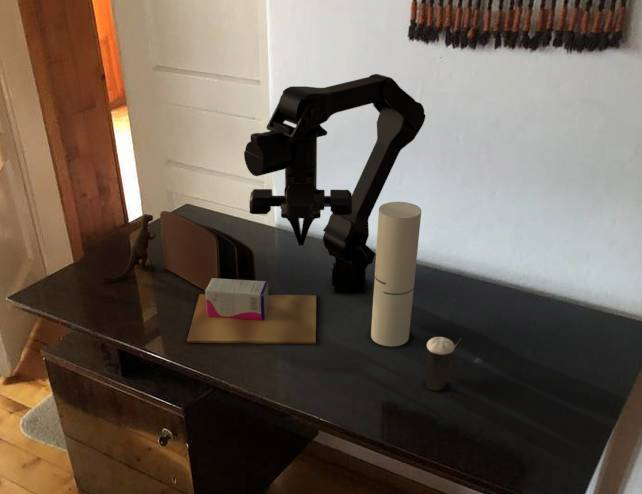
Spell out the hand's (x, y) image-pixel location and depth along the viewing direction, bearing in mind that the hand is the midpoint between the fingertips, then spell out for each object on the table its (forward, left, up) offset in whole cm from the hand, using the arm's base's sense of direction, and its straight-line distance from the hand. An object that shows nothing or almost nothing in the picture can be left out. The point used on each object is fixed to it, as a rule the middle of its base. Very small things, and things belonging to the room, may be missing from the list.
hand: (301, 244), depth 141 cm
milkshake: (-24, +28, -13) cm, 39 cm away
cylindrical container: (-17, +12, -13) cm, 25 cm away
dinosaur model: (+37, -13, -13) cm, 41 cm away
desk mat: (+9, +6, -13) cm, 17 cm away
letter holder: (+20, -11, -13) cm, 26 cm away
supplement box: (+6, +5, -10) cm, 13 cm away
